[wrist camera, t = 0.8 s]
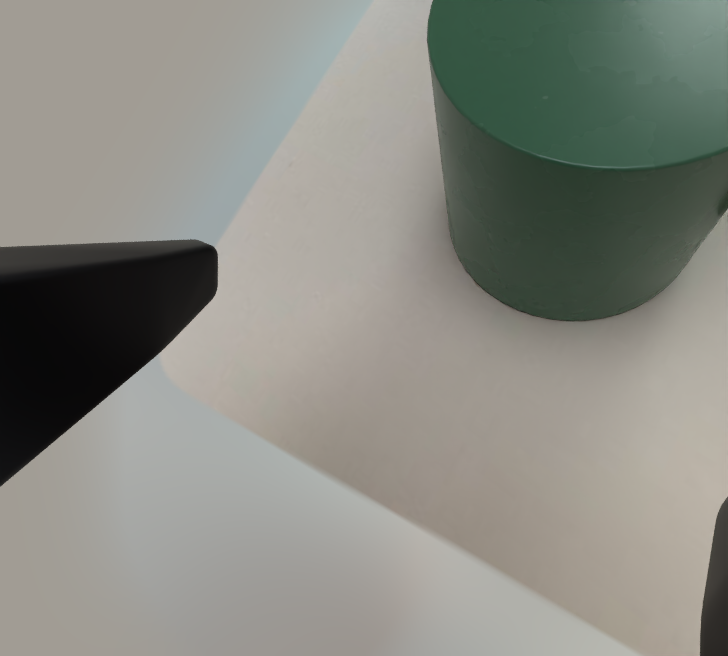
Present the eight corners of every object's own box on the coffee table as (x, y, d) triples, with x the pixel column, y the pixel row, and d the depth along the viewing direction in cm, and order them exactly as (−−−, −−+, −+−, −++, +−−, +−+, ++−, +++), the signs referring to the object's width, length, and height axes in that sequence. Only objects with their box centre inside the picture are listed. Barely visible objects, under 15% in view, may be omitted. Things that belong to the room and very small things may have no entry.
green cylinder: (642, 363, 21) (764, 230, 12) (408, 264, 24) (361, 100, 15) (736, 154, 23) (903, -99, 14) (508, 89, 26) (521, -149, 17)
